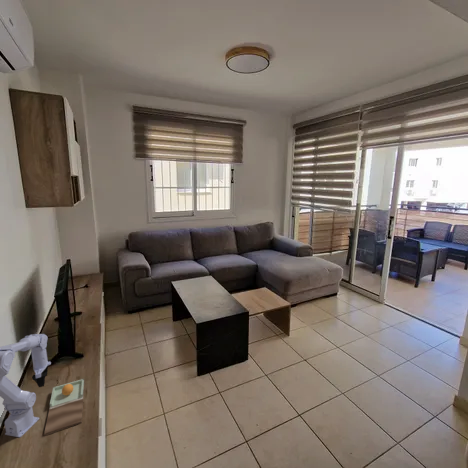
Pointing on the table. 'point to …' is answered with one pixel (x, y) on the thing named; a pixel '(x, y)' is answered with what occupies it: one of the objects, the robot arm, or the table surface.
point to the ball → (67, 389)
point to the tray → (60, 398)
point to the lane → (64, 416)
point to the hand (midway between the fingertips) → (43, 381)
